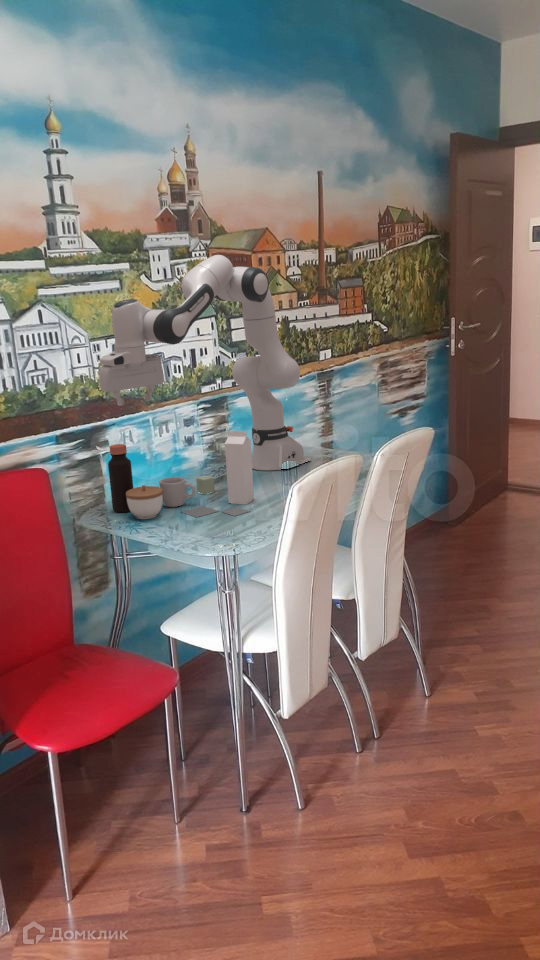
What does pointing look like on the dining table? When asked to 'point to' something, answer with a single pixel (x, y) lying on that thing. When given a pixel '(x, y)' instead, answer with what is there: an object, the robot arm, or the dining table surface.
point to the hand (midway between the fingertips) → (134, 403)
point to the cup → (175, 491)
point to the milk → (239, 468)
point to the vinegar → (120, 477)
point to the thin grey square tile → (200, 511)
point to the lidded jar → (145, 501)
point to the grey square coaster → (236, 511)
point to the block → (205, 484)
